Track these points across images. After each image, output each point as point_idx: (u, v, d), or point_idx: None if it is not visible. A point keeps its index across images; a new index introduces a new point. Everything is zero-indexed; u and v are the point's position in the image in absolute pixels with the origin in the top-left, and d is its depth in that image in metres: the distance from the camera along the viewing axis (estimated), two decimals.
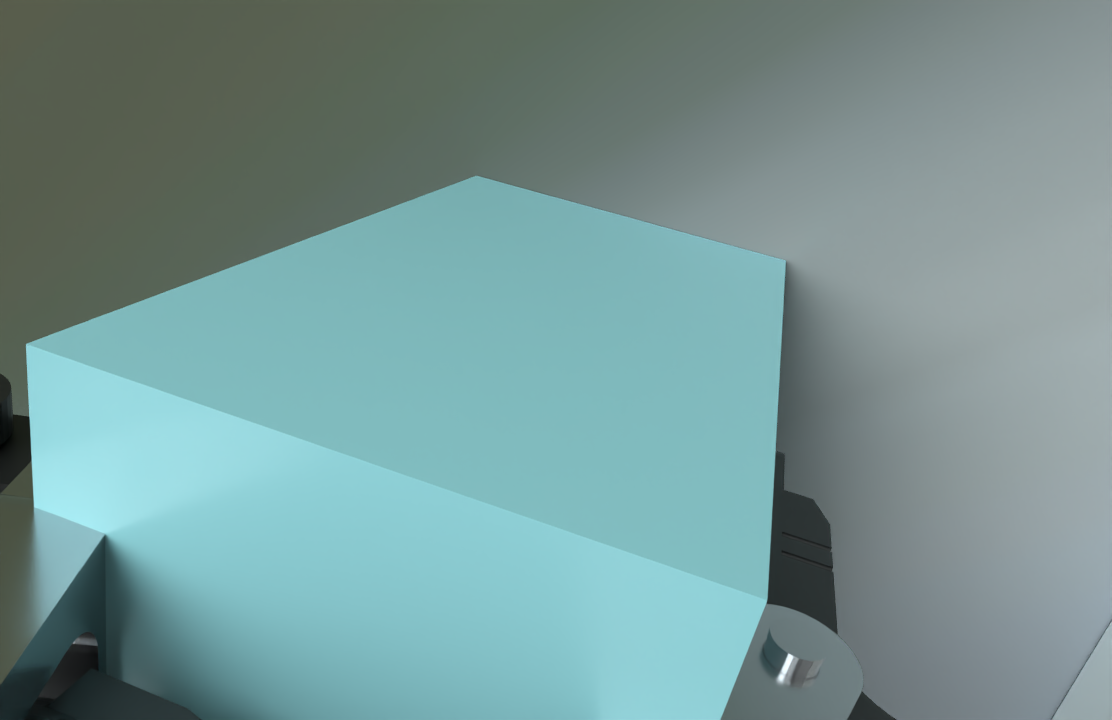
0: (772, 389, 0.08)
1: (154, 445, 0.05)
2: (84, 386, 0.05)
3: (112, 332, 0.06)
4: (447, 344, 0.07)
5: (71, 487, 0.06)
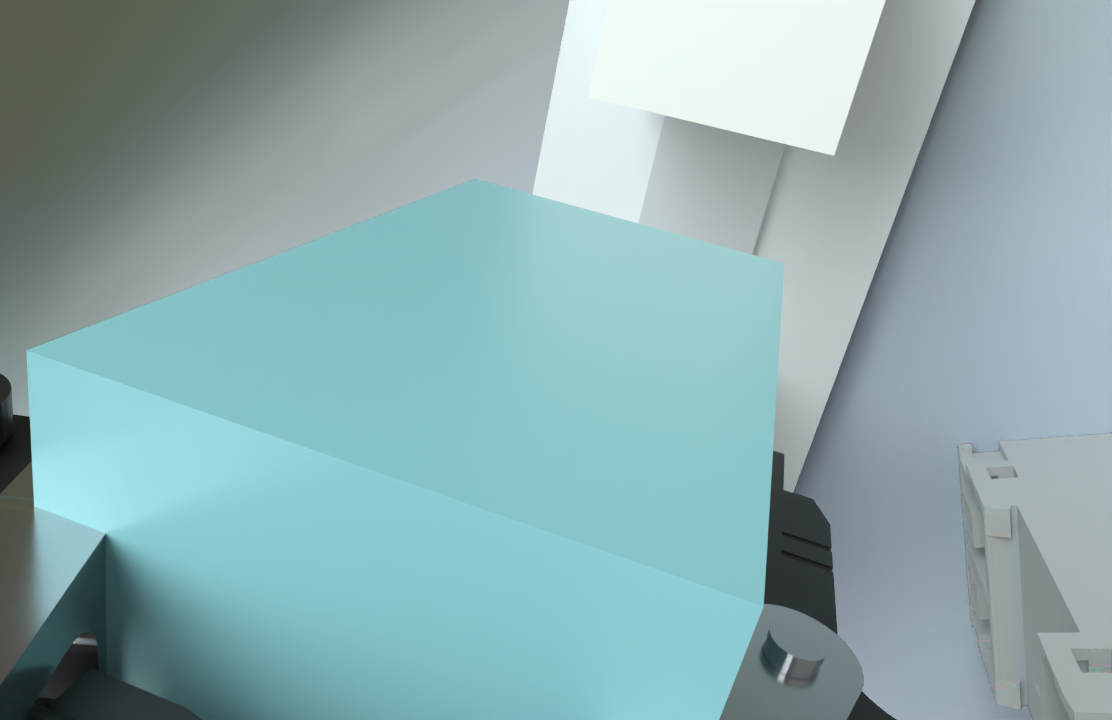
0: (770, 393, 0.08)
1: (154, 451, 0.06)
2: (84, 392, 0.05)
3: (112, 338, 0.06)
4: (445, 349, 0.07)
5: (72, 491, 0.06)
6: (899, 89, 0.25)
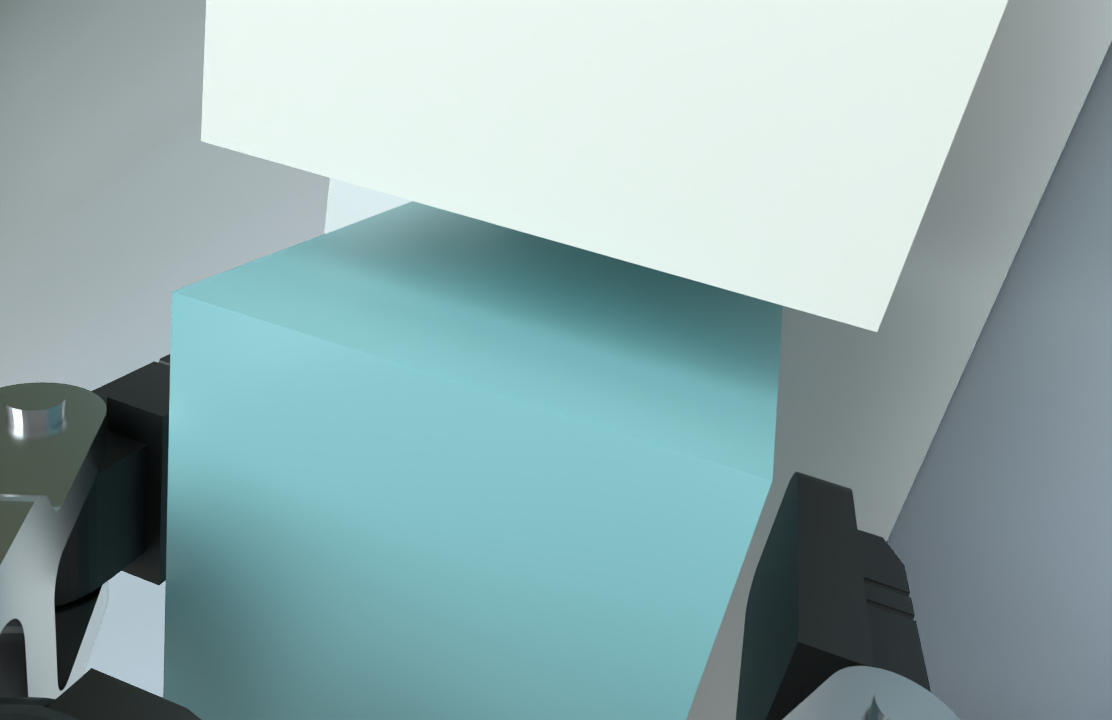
0: (775, 340, 0.09)
1: (275, 373, 0.07)
2: (219, 325, 0.07)
3: (234, 285, 0.07)
4: (499, 300, 0.08)
5: (203, 411, 0.07)
6: (989, 110, 0.13)
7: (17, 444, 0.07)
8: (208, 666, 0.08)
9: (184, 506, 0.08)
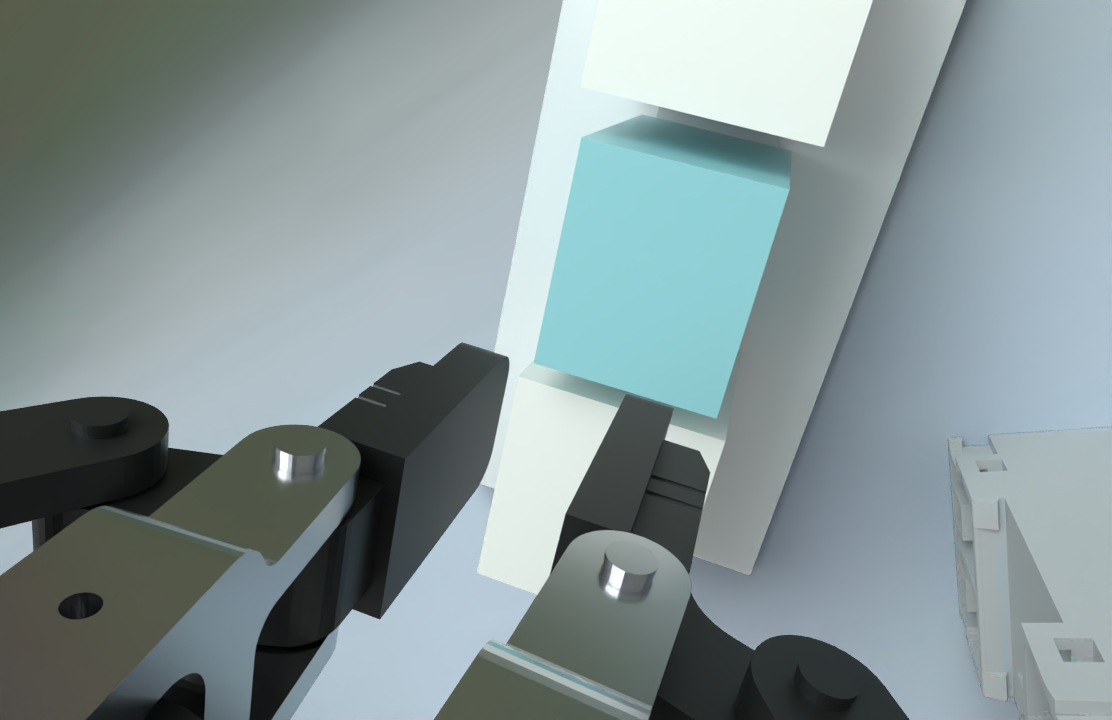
0: (788, 171, 0.22)
1: (617, 165, 0.20)
2: (598, 148, 0.20)
3: (595, 138, 0.20)
4: (681, 151, 0.21)
5: (585, 182, 0.20)
6: (892, 82, 0.25)
7: (267, 486, 0.08)
8: (568, 293, 0.21)
9: (570, 222, 0.20)
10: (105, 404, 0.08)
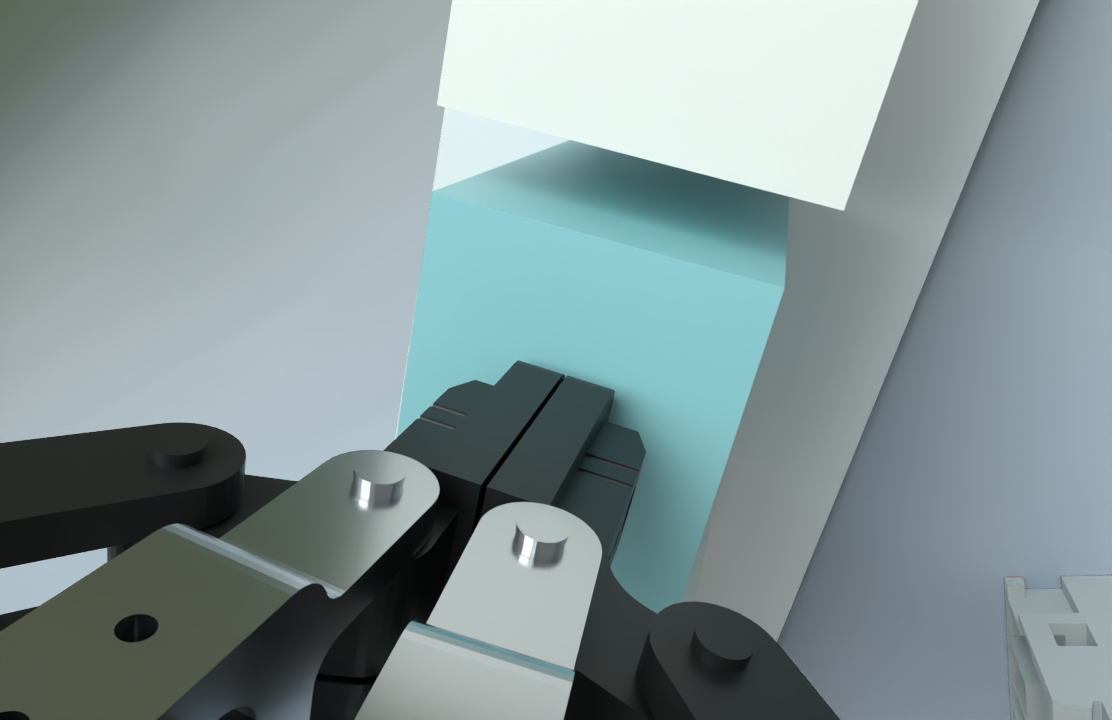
0: (783, 237, 0.14)
1: (493, 239, 0.12)
2: (460, 211, 0.12)
3: (460, 190, 0.12)
4: (610, 207, 0.13)
5: (443, 265, 0.12)
6: (937, 93, 0.17)
7: (344, 514, 0.07)
8: None
9: (423, 328, 0.12)
10: (185, 432, 0.08)
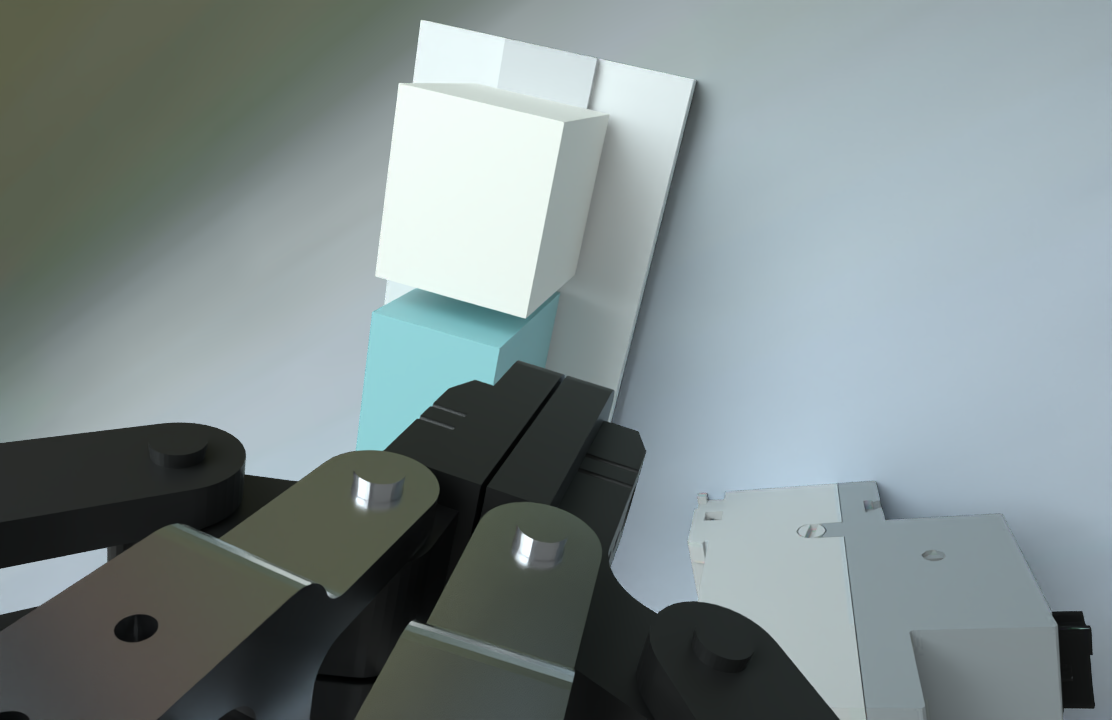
0: (524, 323, 0.32)
1: (395, 329, 0.30)
2: (383, 319, 0.30)
3: (384, 310, 0.31)
4: (448, 313, 0.32)
5: (377, 339, 0.30)
6: (623, 247, 0.36)
7: (343, 514, 0.07)
8: (373, 409, 0.32)
9: (370, 364, 0.31)
10: (185, 432, 0.08)
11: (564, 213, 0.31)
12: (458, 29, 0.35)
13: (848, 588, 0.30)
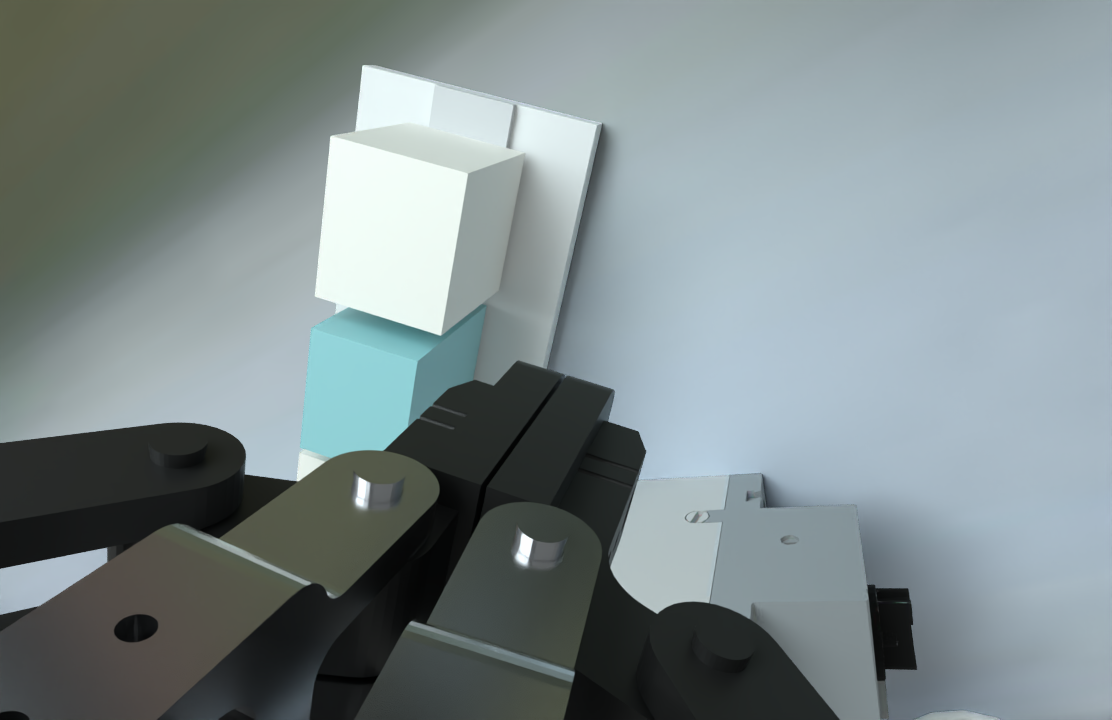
0: (445, 337, 0.37)
1: (331, 343, 0.35)
2: (320, 334, 0.35)
3: (322, 326, 0.36)
4: (378, 328, 0.37)
5: (316, 351, 0.36)
6: (540, 267, 0.41)
7: (344, 514, 0.07)
8: (314, 409, 0.37)
9: (310, 371, 0.36)
10: (185, 432, 0.08)
11: (478, 244, 0.36)
12: (395, 74, 0.40)
13: (713, 566, 0.36)
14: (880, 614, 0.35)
